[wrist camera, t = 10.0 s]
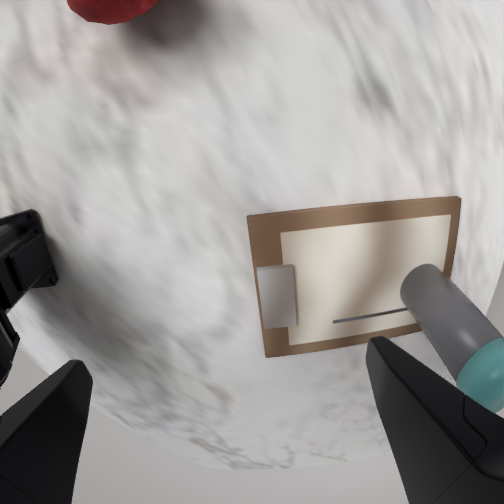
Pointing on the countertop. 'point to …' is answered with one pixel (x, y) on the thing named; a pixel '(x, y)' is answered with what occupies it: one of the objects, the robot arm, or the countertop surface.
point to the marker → (457, 334)
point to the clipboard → (345, 269)
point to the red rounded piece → (110, 9)
